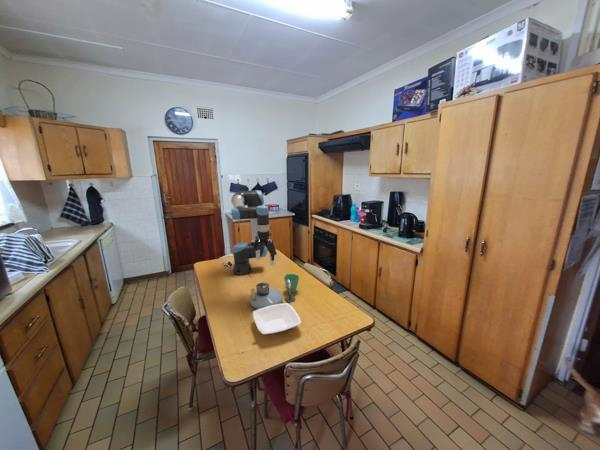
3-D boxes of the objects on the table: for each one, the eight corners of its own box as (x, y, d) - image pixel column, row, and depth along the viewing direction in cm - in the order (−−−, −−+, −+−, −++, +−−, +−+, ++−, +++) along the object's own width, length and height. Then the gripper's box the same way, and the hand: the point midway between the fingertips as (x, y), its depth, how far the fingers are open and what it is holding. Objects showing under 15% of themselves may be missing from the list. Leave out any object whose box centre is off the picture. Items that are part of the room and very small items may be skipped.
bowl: (261, 347, 114) (261, 336, 112) (250, 319, 135) (250, 310, 133) (304, 333, 122) (304, 323, 121) (288, 309, 143) (288, 300, 142)
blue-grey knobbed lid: (245, 297, 154) (244, 283, 151) (274, 288, 163) (273, 276, 161) (256, 313, 137) (255, 298, 135) (287, 302, 147) (287, 288, 144)
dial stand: (284, 299, 154) (284, 279, 151) (291, 297, 156) (291, 277, 153) (288, 302, 150) (287, 282, 146) (295, 300, 152) (294, 280, 149)
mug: (300, 293, 161) (300, 279, 159) (286, 295, 158) (286, 281, 156) (294, 283, 175) (294, 270, 172) (281, 285, 172) (281, 272, 170)
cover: (254, 291, 155) (254, 284, 154) (266, 288, 159) (266, 281, 158) (259, 297, 148) (258, 289, 147) (271, 293, 152) (271, 286, 151)
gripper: (246, 228, 157) (248, 258, 162) (272, 235, 141) (273, 269, 146) (255, 226, 162) (257, 255, 168) (281, 232, 146) (282, 265, 152)
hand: (265, 262), depth 157 cm, fingers open, 13 cm apart
